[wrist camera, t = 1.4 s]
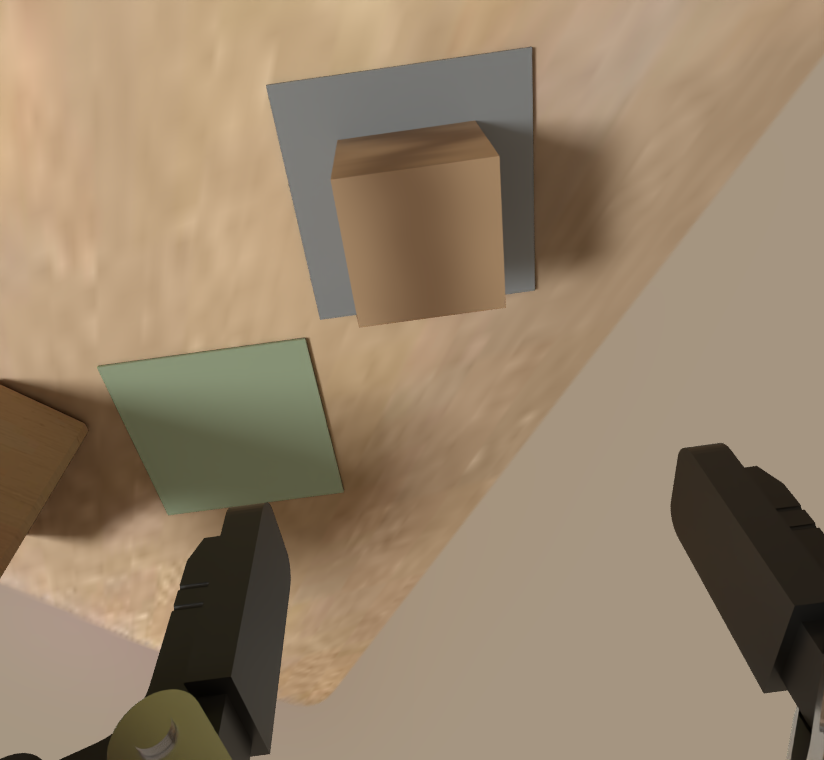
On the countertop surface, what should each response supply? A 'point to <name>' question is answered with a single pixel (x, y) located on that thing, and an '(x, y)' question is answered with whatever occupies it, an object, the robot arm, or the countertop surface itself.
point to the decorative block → (30, 463)
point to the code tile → (398, 111)
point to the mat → (227, 425)
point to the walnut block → (421, 222)
